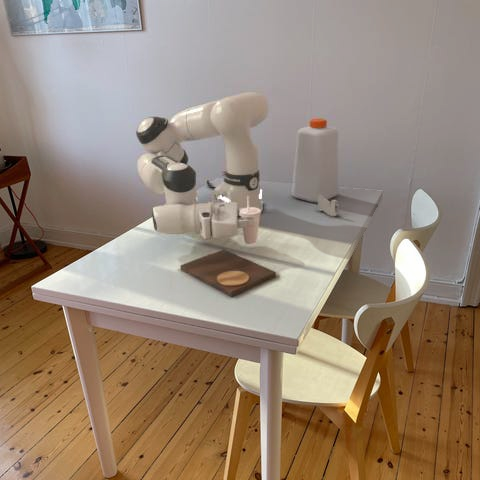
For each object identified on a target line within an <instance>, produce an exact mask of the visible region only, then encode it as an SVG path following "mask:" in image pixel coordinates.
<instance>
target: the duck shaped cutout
mask: <svg viewBox="0 0 480 480" xmlns="http://www.w3.org/2000/svg"><path fill="white" fill-rule="evenodd" d="M317 212H323V213H325V214H326V215H328V216H330V217H338V216H339V215H340V212H339V201H338V200H337V199H331V201H330V200H329V199H328V200H327V199H325V197H324V196H323V195H319V196H318V203H317Z"/></svg>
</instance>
